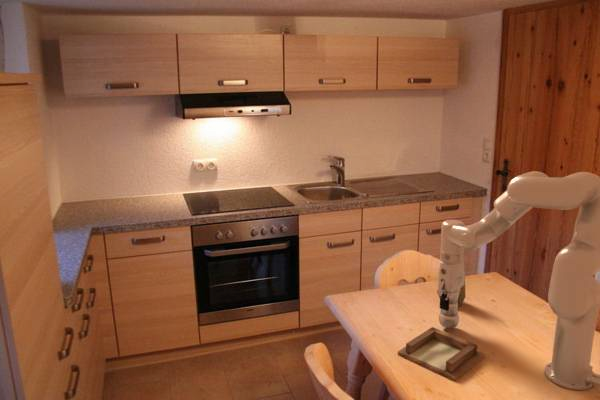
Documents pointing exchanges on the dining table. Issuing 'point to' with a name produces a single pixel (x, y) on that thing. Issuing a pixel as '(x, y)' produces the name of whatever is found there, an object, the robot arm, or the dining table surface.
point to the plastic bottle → (450, 311)
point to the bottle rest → (442, 353)
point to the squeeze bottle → (462, 295)
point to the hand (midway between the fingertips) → (449, 305)
